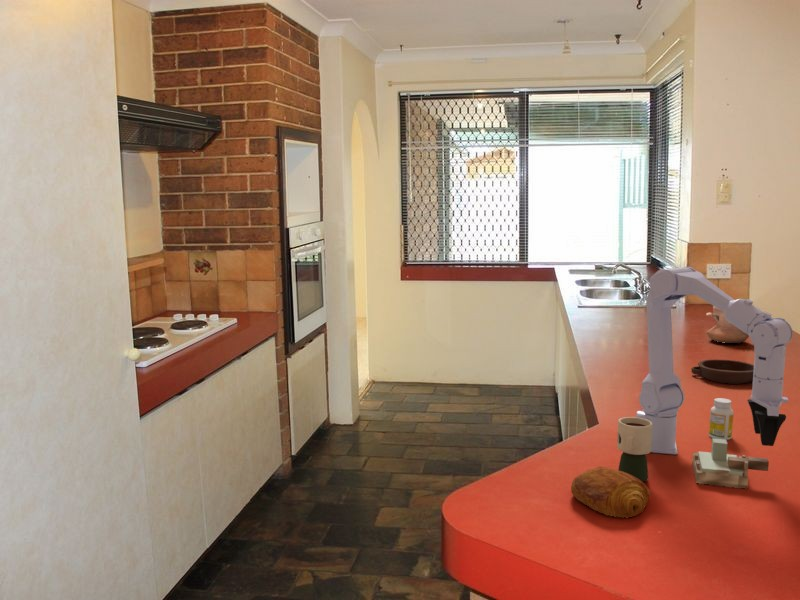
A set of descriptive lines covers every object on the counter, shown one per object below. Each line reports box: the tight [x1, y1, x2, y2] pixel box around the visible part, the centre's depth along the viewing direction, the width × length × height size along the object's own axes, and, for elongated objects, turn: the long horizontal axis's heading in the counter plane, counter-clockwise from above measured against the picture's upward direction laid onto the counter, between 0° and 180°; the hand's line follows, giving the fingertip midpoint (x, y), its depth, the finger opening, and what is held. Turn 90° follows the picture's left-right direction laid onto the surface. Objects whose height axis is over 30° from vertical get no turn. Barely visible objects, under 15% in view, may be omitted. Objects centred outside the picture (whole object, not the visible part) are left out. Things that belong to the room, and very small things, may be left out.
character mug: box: [616, 416, 652, 482], centre depth 163 cm, size 11×7×13 cm, turn 151°
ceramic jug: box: [706, 306, 750, 344], centre depth 301 cm, size 18×14×14 cm
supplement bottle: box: [708, 397, 735, 441], centre depth 190 cm, size 5×5×10 cm
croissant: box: [570, 466, 651, 519], centre depth 152 cm, size 14×16×8 cm
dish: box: [690, 358, 754, 385], centre depth 246 cm, size 18×22×5 cm
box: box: [691, 449, 749, 490], centre depth 166 cm, size 10×12×6 cm
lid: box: [697, 438, 743, 476], centre depth 165 cm, size 8×11×5 cm
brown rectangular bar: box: [728, 456, 769, 472], centre depth 161 cm, size 8×2×2 cm, turn 73°
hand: (763, 439), depth 160 cm, fingers open, 7 cm apart
